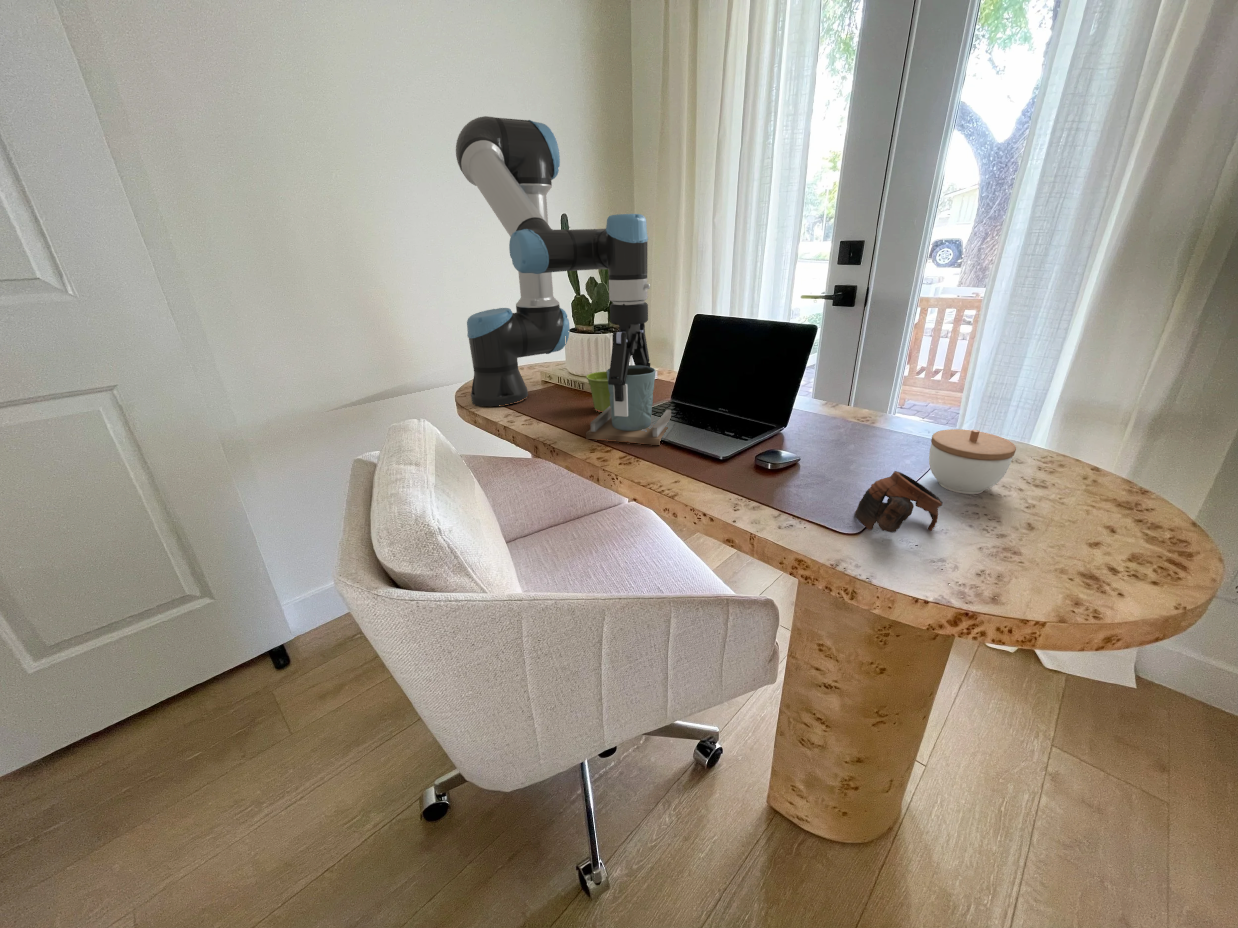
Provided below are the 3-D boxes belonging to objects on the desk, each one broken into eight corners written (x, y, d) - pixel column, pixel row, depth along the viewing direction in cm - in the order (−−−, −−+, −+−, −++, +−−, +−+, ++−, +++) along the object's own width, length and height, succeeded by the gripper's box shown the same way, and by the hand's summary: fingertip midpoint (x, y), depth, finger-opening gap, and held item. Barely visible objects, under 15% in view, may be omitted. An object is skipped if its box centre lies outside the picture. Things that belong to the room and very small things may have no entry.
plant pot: (610, 402, 128) (608, 369, 125) (633, 409, 122) (632, 375, 118) (580, 409, 123) (578, 375, 119) (603, 418, 116) (602, 382, 113)
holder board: (586, 439, 104) (585, 423, 102) (608, 418, 116) (608, 404, 114) (659, 446, 99) (659, 429, 97) (675, 423, 111) (675, 409, 109)
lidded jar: (1016, 503, 73) (1035, 445, 69) (936, 499, 75) (950, 442, 71) (982, 473, 82) (998, 420, 78) (912, 470, 84) (924, 418, 80)
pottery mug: (851, 504, 75) (887, 461, 72) (908, 543, 72) (948, 501, 69) (845, 521, 65) (888, 473, 62) (912, 569, 62) (960, 520, 59)
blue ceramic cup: (599, 426, 106) (597, 372, 101) (626, 414, 113) (624, 362, 109) (639, 435, 100) (637, 377, 96) (664, 421, 108) (664, 367, 103)
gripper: (627, 310, 84) (630, 426, 93) (663, 295, 106) (662, 391, 114) (587, 309, 87) (593, 423, 95) (629, 296, 108) (632, 389, 117)
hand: (631, 406), depth 105 cm, fingers open, 13 cm apart
